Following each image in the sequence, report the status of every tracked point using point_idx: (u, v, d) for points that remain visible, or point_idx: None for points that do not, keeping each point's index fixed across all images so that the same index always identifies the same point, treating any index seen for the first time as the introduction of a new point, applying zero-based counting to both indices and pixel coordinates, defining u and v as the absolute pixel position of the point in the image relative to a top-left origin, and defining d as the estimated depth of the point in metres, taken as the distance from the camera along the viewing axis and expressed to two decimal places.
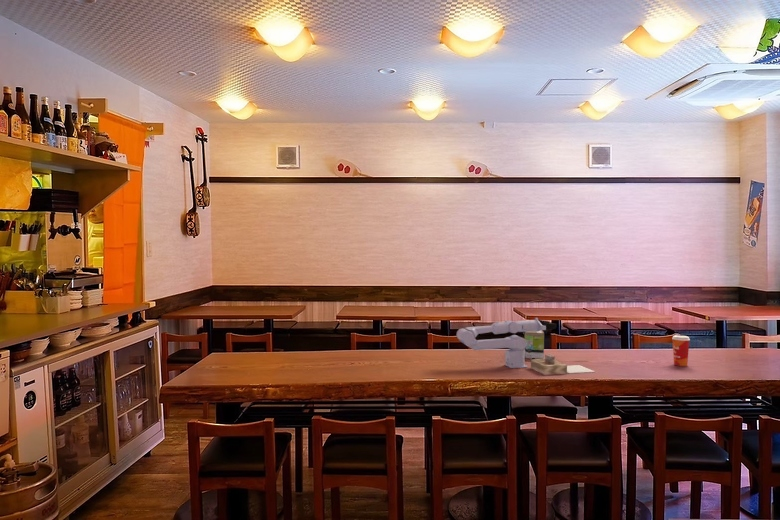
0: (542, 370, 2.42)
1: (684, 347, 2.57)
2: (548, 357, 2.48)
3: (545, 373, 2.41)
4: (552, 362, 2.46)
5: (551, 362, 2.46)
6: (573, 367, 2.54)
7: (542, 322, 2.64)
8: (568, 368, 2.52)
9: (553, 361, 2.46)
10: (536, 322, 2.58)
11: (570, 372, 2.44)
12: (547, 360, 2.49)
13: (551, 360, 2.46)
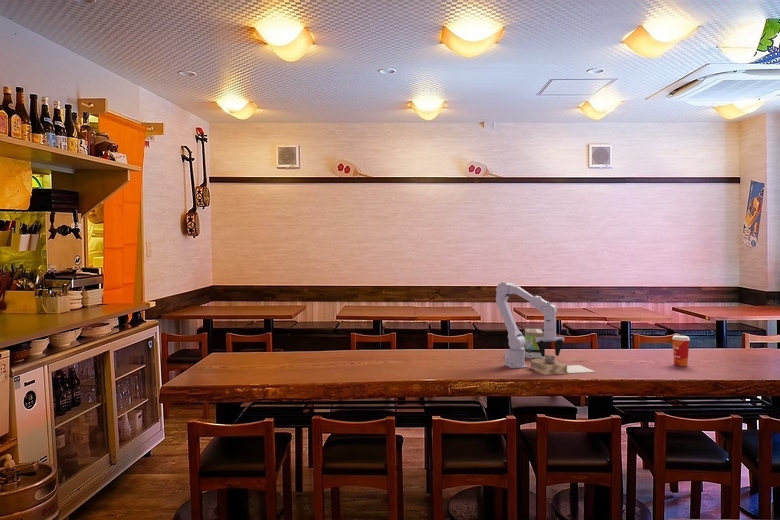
0: (542, 370, 2.42)
1: (684, 347, 2.57)
2: (548, 357, 2.48)
3: (545, 373, 2.41)
4: (552, 362, 2.46)
5: (551, 362, 2.46)
6: (573, 367, 2.54)
7: (557, 348, 2.49)
8: (568, 368, 2.52)
9: (553, 361, 2.46)
10: (548, 336, 2.46)
11: (570, 372, 2.44)
12: (547, 360, 2.49)
13: (551, 360, 2.46)
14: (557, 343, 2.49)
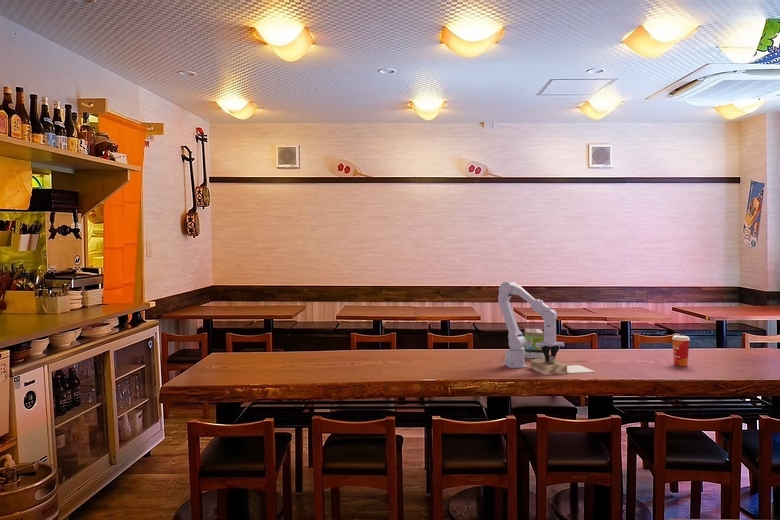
0: (542, 370, 2.42)
1: (684, 347, 2.57)
2: None
3: (545, 373, 2.41)
4: (552, 362, 2.46)
5: (551, 362, 2.46)
6: (573, 367, 2.54)
7: (553, 353, 2.48)
8: (568, 368, 2.52)
9: (553, 361, 2.46)
10: (548, 342, 2.46)
11: (570, 372, 2.44)
12: None
13: (551, 360, 2.46)
14: (553, 349, 2.48)
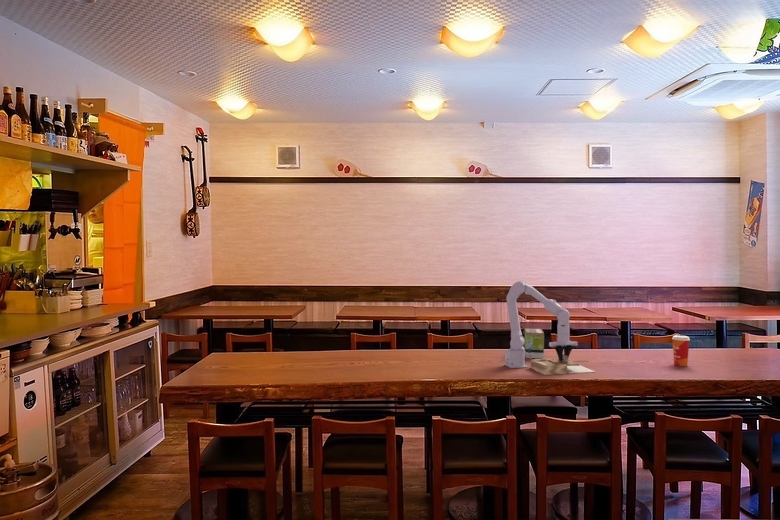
0: (542, 370, 2.42)
1: (684, 347, 2.57)
2: (562, 356, 2.49)
3: (545, 373, 2.41)
4: (566, 362, 2.48)
5: (565, 361, 2.48)
6: (573, 367, 2.54)
7: (566, 352, 2.50)
8: (568, 368, 2.52)
9: (567, 361, 2.48)
10: (561, 341, 2.48)
11: (570, 372, 2.44)
12: None
13: (565, 360, 2.48)
14: (566, 348, 2.50)
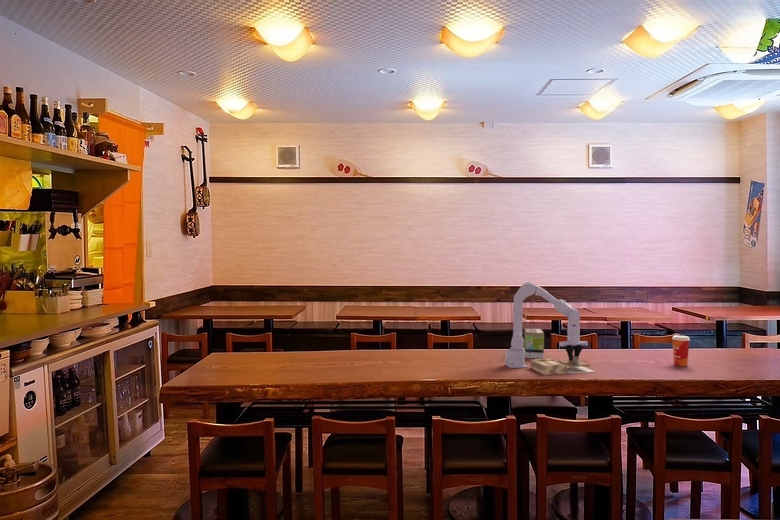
0: (542, 370, 2.42)
1: (684, 347, 2.57)
2: None
3: (545, 373, 2.41)
4: (576, 362, 2.49)
5: (575, 362, 2.48)
6: (573, 367, 2.54)
7: (576, 352, 2.51)
8: (568, 368, 2.52)
9: (577, 361, 2.49)
10: (572, 341, 2.49)
11: (570, 372, 2.44)
12: None
13: (575, 360, 2.48)
14: (576, 348, 2.51)
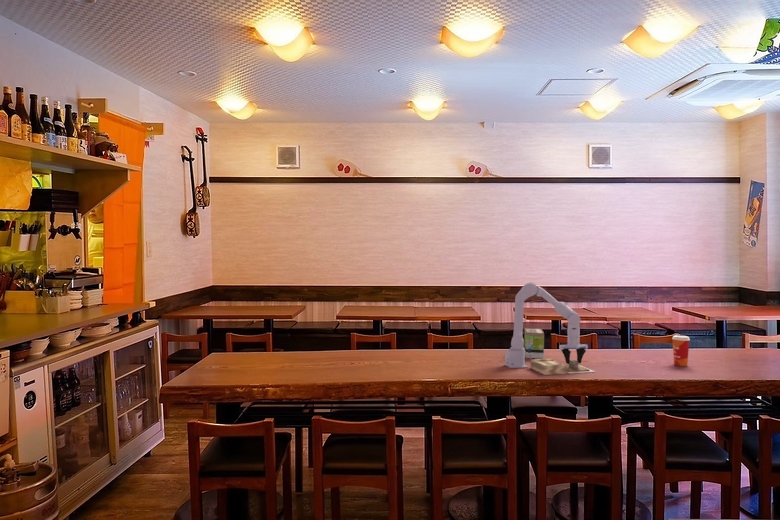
0: (542, 370, 2.42)
1: (684, 347, 2.57)
2: (572, 362, 2.50)
3: (545, 373, 2.41)
4: (576, 367, 2.49)
5: (575, 367, 2.49)
6: None
7: (579, 355, 2.51)
8: None
9: (577, 366, 2.49)
10: (572, 344, 2.49)
11: (570, 372, 2.44)
12: (571, 365, 2.51)
13: (575, 365, 2.49)
14: (579, 351, 2.51)
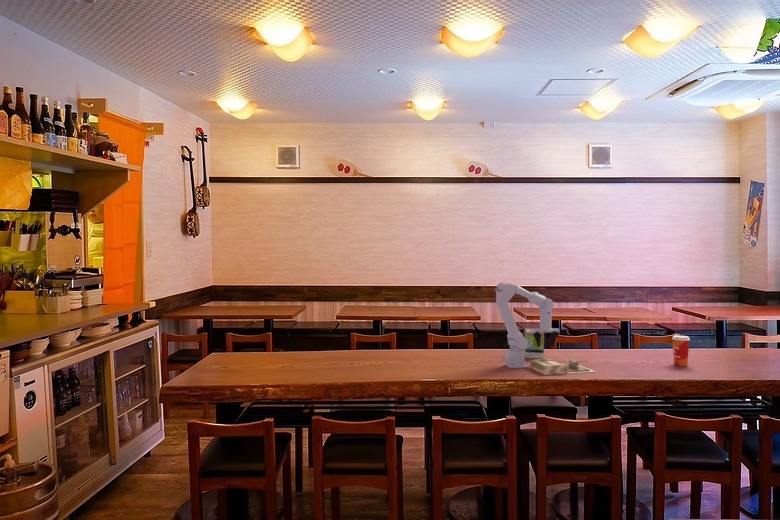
0: (542, 370, 2.42)
1: (684, 347, 2.57)
2: (572, 362, 2.50)
3: (545, 373, 2.41)
4: (576, 367, 2.49)
5: (575, 367, 2.49)
6: None
7: (552, 339, 2.64)
8: None
9: (577, 366, 2.49)
10: (543, 328, 2.61)
11: (570, 372, 2.44)
12: (571, 365, 2.51)
13: (575, 365, 2.49)
14: (552, 334, 2.64)
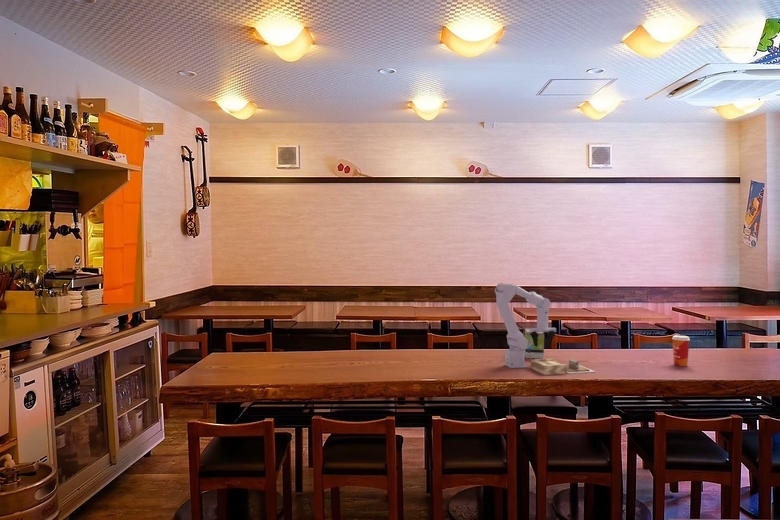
0: (542, 370, 2.42)
1: (684, 347, 2.57)
2: (572, 362, 2.50)
3: (545, 373, 2.41)
4: (576, 367, 2.49)
5: (575, 367, 2.49)
6: None
7: (549, 338, 2.65)
8: None
9: (577, 366, 2.49)
10: (540, 327, 2.63)
11: (570, 372, 2.44)
12: (571, 365, 2.51)
13: (575, 365, 2.49)
14: (549, 334, 2.65)
